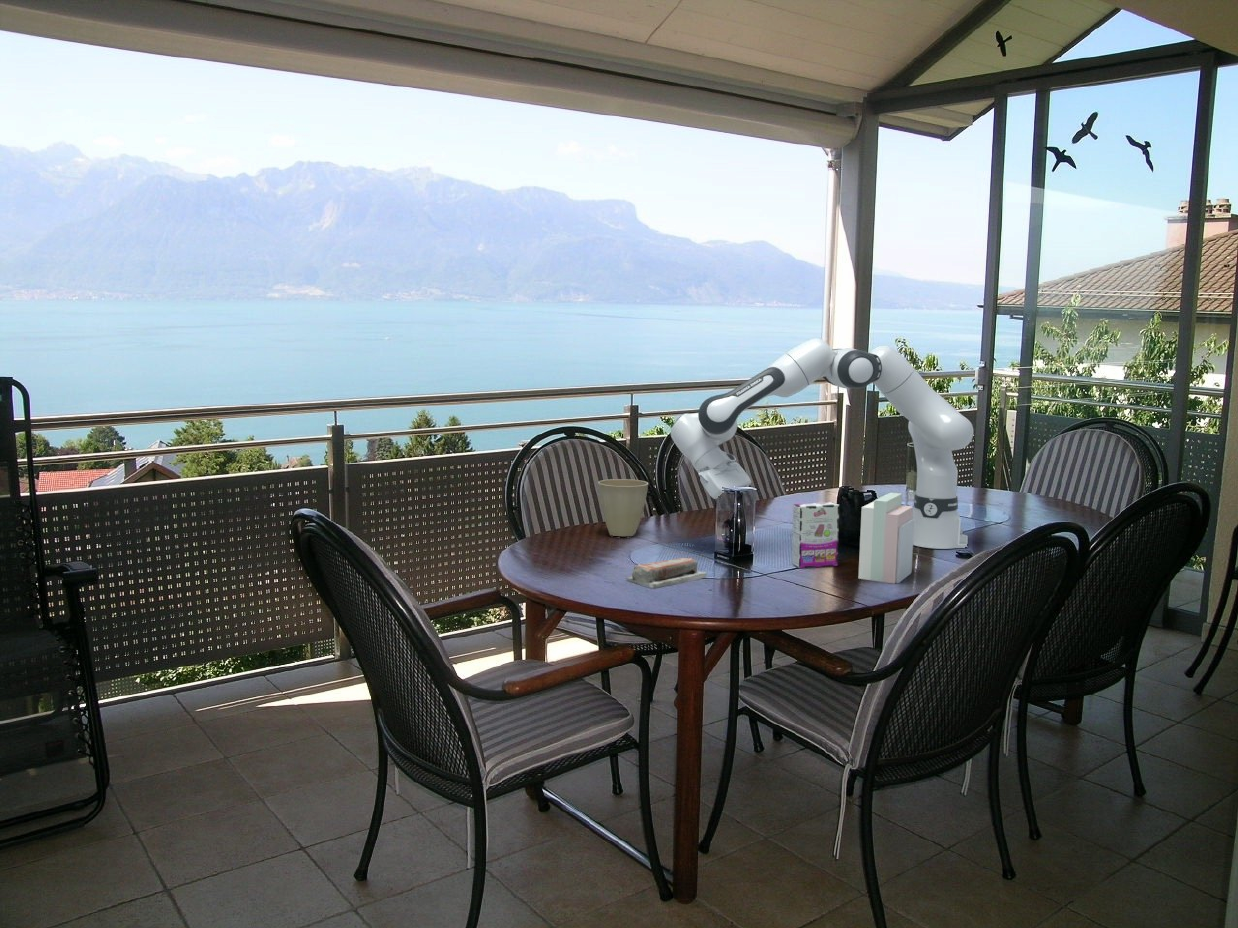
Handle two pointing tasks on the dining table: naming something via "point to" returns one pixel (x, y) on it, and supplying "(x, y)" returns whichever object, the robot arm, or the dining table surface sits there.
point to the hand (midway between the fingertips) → (744, 504)
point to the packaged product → (666, 573)
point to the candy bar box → (815, 535)
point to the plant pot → (622, 504)
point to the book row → (886, 540)
